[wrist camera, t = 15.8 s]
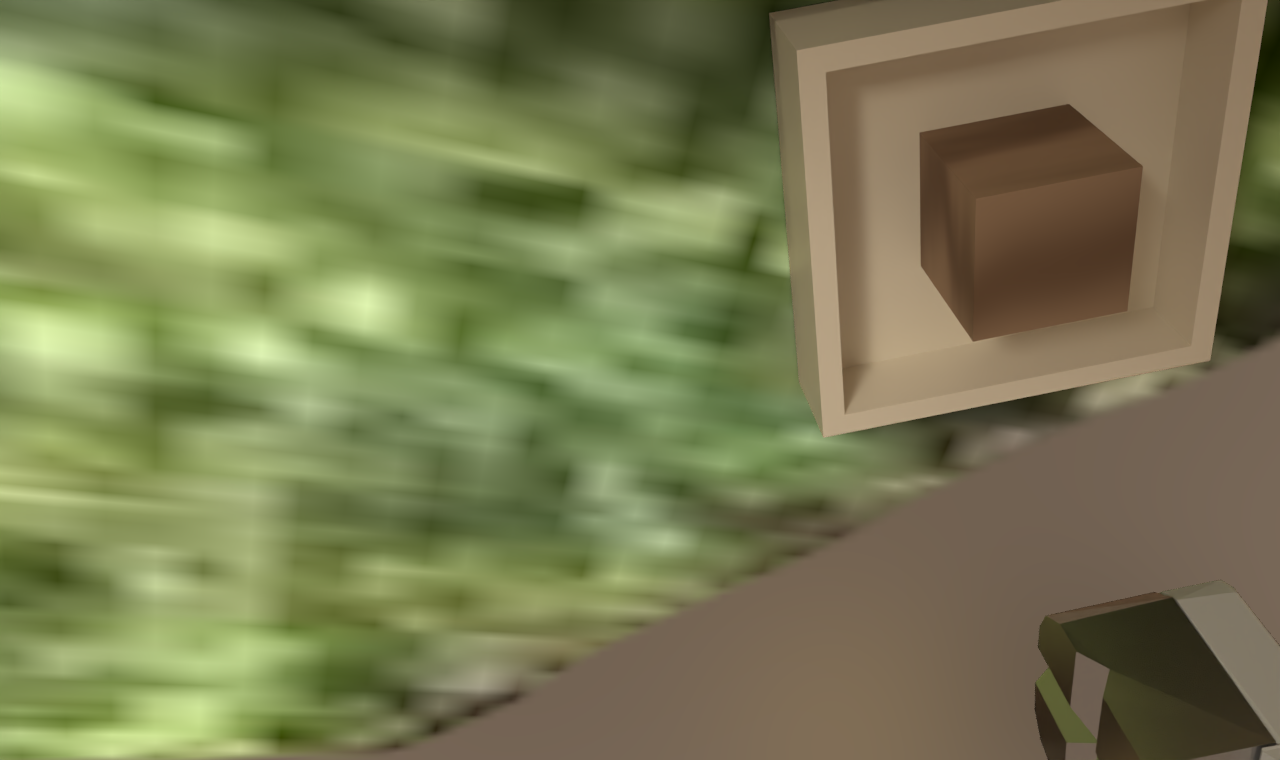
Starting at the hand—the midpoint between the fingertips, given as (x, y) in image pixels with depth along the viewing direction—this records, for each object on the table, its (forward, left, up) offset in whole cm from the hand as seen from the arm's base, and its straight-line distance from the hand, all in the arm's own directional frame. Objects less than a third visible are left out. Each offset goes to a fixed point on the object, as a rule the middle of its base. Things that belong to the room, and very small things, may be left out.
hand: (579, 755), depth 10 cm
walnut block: (+11, +15, -28) cm, 34 cm away
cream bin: (+11, +15, -29) cm, 34 cm away
